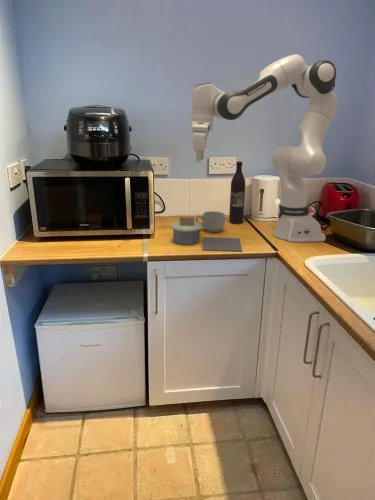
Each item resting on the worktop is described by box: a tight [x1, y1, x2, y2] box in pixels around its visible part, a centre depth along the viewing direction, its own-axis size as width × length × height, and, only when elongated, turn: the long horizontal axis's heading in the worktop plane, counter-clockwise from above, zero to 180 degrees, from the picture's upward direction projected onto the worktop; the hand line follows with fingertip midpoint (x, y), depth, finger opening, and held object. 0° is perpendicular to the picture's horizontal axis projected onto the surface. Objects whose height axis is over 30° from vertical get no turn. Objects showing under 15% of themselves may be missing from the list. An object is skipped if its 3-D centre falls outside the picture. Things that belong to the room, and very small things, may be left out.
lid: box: [171, 215, 203, 232], centre depth 161 cm, size 13×13×4 cm
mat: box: [201, 236, 243, 253], centre depth 159 cm, size 16×16×1 cm
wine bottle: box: [228, 161, 246, 225], centre depth 186 cm, size 7×7×30 cm
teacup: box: [194, 210, 226, 233], centre depth 177 cm, size 14×11×8 cm
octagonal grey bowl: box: [172, 229, 201, 246], centre depth 162 cm, size 11×11×6 cm
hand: (199, 161), depth 158 cm, fingers open, 8 cm apart
